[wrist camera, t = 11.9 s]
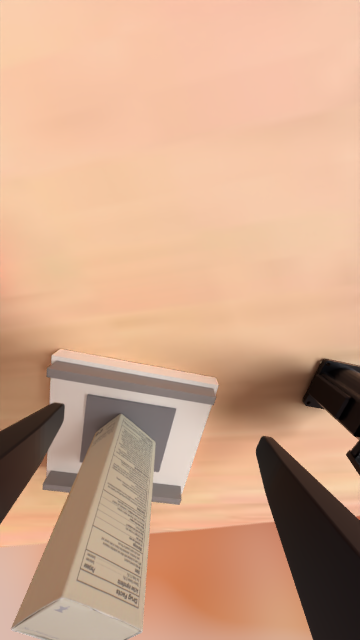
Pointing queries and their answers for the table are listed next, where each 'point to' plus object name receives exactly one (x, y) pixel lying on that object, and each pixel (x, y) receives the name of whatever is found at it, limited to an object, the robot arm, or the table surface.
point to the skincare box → (97, 545)
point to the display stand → (127, 415)
